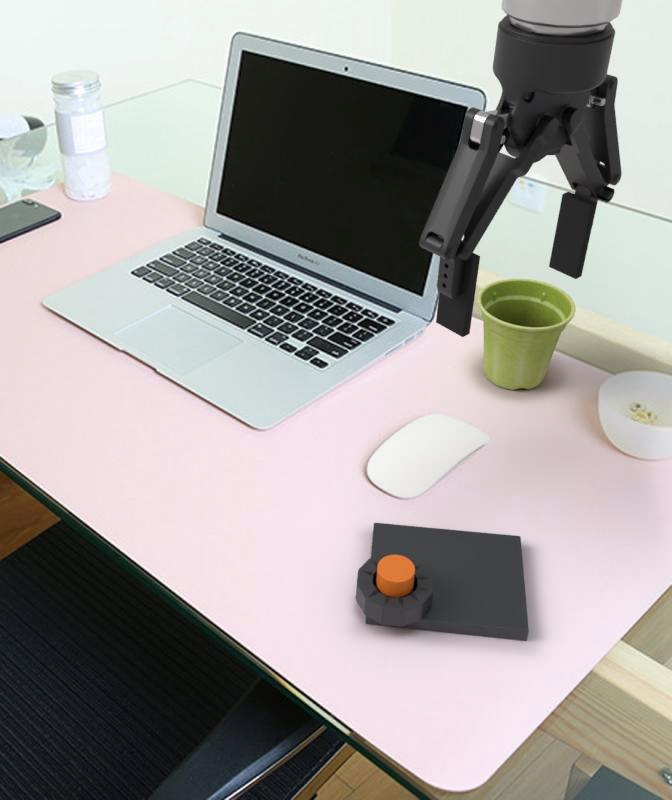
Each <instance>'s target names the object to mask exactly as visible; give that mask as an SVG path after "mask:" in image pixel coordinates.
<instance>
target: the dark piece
mask: <svg viewBox="0 0 672 800" xmlns="http://www.w3.org/2000/svg"><path fill="white" fill-rule="evenodd" d="M372 528H373V529H372V540H371V549H370V557H369V558H368V559H367V560H366V561H365V562H364V563H363V564H362V565H361V567H359V569H357V570H358V571H357V578H356V589H355V601H356V603H357V605H358V606H359V608H360V610H361V611H362V613H363V615H365V618H364V619H365V620H364V622H365V623H364V624H365V625H369V626H380V627H389V628H397V629H399V628H400V629H407V630H408V629H409V630H418V631H427V632H428V631H429V632H437V633H446V634H454V635H456V634H457V635H465V636H473V637H483V638H494V639H501V640H502V639H503V640H510V641H511V640H512V641H521V642H527V640H528V636H529V632H530V631H529V629H530V628H529V618H528V608H527V607H528V606H527V596H526V595H527V594H526V583H525V571H524V562H523V561H524V559H523V549H522V548H523V547H522V538H521V536H520V535H512V534H501V533H491V532H480V531H470V530H461V529H460V530H458V529H448V528H438V527H437V528H436V527H425V526H415V525H405V524H393V523H392V524H391V523H384V522H373V527H372ZM388 555H401V556H404V557H406V558H408V559H409V560H411V561H412V563H413V564H414V566H415V577H414V586H413V589H412V591H411V592H410V593H409V594H408V595H407V596H404V597H401V598H392V597H388V596H386V595H384V594H383V593H381V592H380V591H379V589H378V587H377V584H376V580H377V567H378V563H379V561H380V560H381V559H382V558H384V557H386V556H388Z"/></svg>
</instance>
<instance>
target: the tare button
mask: <svg viewBox="0 0 672 800" xmlns="http://www.w3.org/2000/svg"><path fill="white" fill-rule="evenodd" d="M414 577H415V566H414V564H413V563H412V561H411V560H409V559H408V558H406V557H404V556H401V555H388V556H386V557H384V558H382V559H381V560H380V561H379V563H378V567H377V580H376V584H377V587H378V589H379V591H380V592H381V593H383V594H384V595H386V596H388V597H392V598H401V597H404V596H407V595H408V594H409V593H410V592H411V591H412V589H413V586H414Z"/></svg>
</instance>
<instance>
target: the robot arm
mask: <svg viewBox="0 0 672 800" xmlns="http://www.w3.org/2000/svg"><path fill="white" fill-rule="evenodd" d="M622 5H623V0H501V10H502V11H503V12H504V14H505V16H504V17H503V18H502V19H501V20H500V21H499V22H498V24H497V31H496V38H495V39H496V40H495V47H494V55H493V61H492V62H493V63H492V71H493V74H494V76H495V78H496V79H497V80H498V82H499V83H500V86H501V95H500V98H499V100H498V103H497V106H496V108H495V109H494V110H488V111H486V110H483V109H479V108H476V107H470V108H469V109H468V110H467V111H466V112H465V115H464V118H463V124H462V129H461V134H460V139H459V143H458V146H457V148H456V150H455V152H454V156H453V158H452V161H451V163H450V165H449V167H448V170H447V172H446V175H445V177H444V179H443V182H442V184H441V187H440V188H439V189H440V190H439V191H438V193H437V196H436V199H435V201H434V203H433V206H432V207H431V211H430V213H429V216H428V218H427V221H426V223H425V225H424V228H423V230H422V233H421V235H420V238H419V241H418V245H419V247H420V248H422V249H424V250H426V251H428V252H430V253H432V254H434V255H436V256H438V257H439V263H438V272H437V273H438V274H437V279H436V288H437V289H436V290H437V292H438V300H437V309H436V318H435V323H436V324H438V325H440V326H441V327H443V328H445V329H447V330H448V331H450V332H453V333H454V334H456V335H458V336H459V337H462V338H464V337H466V336H468V335H470V332H471V325H472V319H473V310H474V304H475V298H476V289H477V282H478V277H479V276H478V275H479V269H480V261H481V255H479V254H476V253H474V252H475V250H476V248H477V246H478V245H479V243H480V242H481V240H482V238H483V236H484V235H485V233H486V232H487V230H488V228H489V227H490V225H491V222H492V221H493V220H494V218H495V216H496V215H497V213H498V211H499V210H500V208H501V206H502V205H503V203H504V201H505V200H506V198H507V196H508V195H509V193H510V191H511V189H512V188H513V186H514V185H515V183H516V181H517V180H518V179H519V178H521V177H524V176H526V175H528V173H529V171H530V170H531V168H532V166H533V165H534V164H536V163H538V162H540V161H542V160H543V159H544V158H546V157H547V156H555V158H556V160H557V162H558V164H559V166H560V169H561V171H562V173H563V174H564V177H565V178H566V180H567V182H568V185H569V186H570V189H571V190H572V191H574V192H570V191H566V192H564V193H562V195H561V201H560V205H559V212H558V217H557V222H556V227H555V232H554V237H553V243H552V250H551V254H550V259H549V264H548V267H549V268H550V269H552V270H554V271H557V272H558V273H562V274H563V275H565V276H568V277H570V278H572V279H575V280H577V279H579V278H581V277H582V276H583V271H584V266H585V262H586V257H587V252H588V248H589V243H590V238H591V234H592V228H593V225H594V220H595V217H596V216H595V215H596V212H597V211H596V210H597V206H598V201H600V202H603V203H605V204H606V203H607V204H608V203H610V202H611V201H612V199H613V198H614V195H615V188H612V187H610V186H609V185H611V186H617V185H618V184H619V183H620V181H621V179H622V175H623V174H622V165H621V155H620V153H621V152H620V146H619V145H620V143H619V135H618V126H617V115H616V107H615V104H616V98H617V97H616V96H617V92H618V91H617V90H618V85H619V78H618V77H617V76H614V75H611V74H608V71H609V65H610V61H611V55H612V51H613V44H614V40H615V36H616V30H615V27H613V23H611V22H613V21H614V20H615V19H617V18H618V17H619V16H620V14H621V9H622ZM503 147H504V148H505V151H506V152H507V154H505V153H502V152H501V150H502V149H503Z"/></svg>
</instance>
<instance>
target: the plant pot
mask: <svg viewBox="0 0 672 800" xmlns="http://www.w3.org/2000/svg"><path fill="white" fill-rule="evenodd" d="M477 306H478V308H479V310H480V311H481V312H480V314H481V319H482V321H483V371H484V373H485V376H486V378H487V379H488V380H489V381H490V382H491V383H493V384H494V385H496V386H498V387H500V388H503V389H507V390H511V391H513V390H517V389H526V390H531V389H534V388H536V387H539V386H540V385H541V384H542V382H543V381H544V379H545V377H546V374H547V371H548V368H549V366H550V364H551V359H552V357H553V355H554V352H555V350H556V347H557V345H558V342H559V340H560V337H561V334H562V332H563V331H564V330H565V329H566V327H567V325H568V324H569V323H570V322H571V321H572V320H573V318H574V316H575V313H576V304H575V301H574V299H573V298H572V297H571V296H570V295H569V294H568V293H567V292H565V291H564V290H563V289H561V288H559V287H557V285H556V286H555V285H553V284H552V283H551V284H550V283H548V282H545V281H542V280H537V279H532V278H531V279H529V278H505V279H500V280H496V281H494V282H491V283H489V284H486V285H485V286H484V287H483V288H482V289H480V291H479V293H478V295H477Z"/></svg>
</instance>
